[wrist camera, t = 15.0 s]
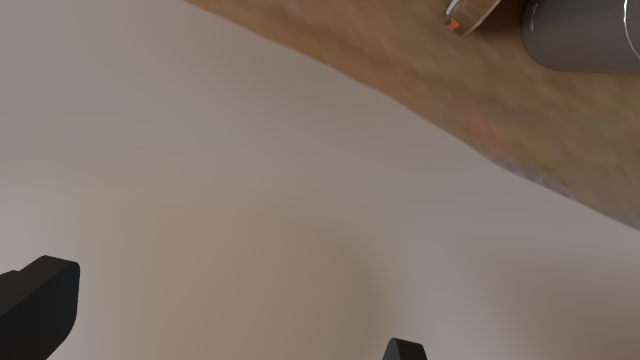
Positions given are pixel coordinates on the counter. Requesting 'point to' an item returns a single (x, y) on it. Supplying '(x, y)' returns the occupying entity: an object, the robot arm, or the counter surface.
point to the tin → (467, 14)
